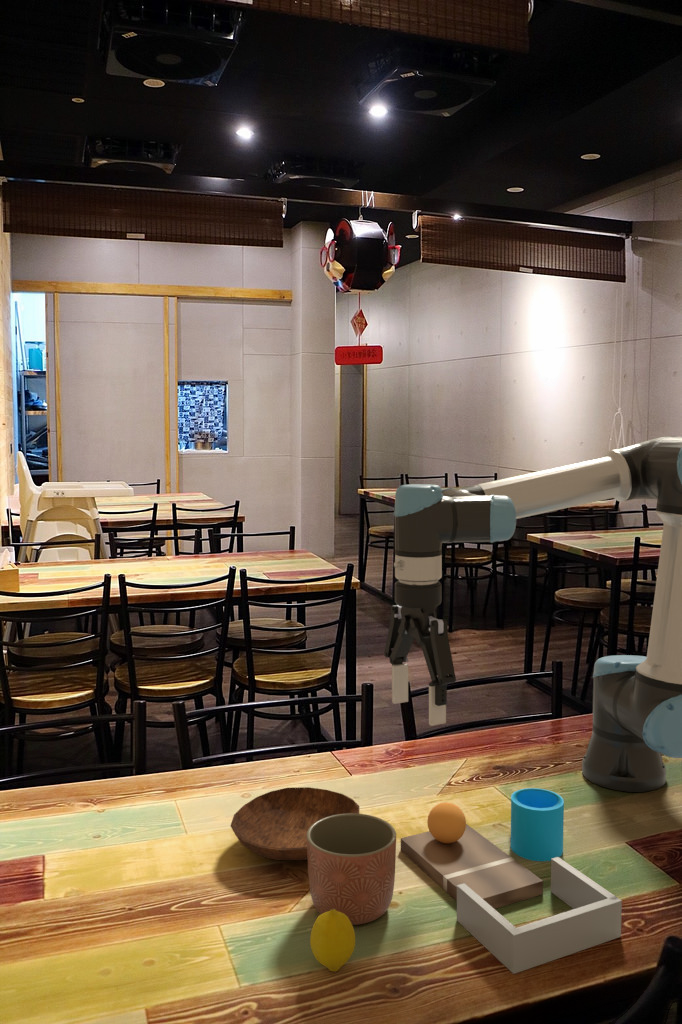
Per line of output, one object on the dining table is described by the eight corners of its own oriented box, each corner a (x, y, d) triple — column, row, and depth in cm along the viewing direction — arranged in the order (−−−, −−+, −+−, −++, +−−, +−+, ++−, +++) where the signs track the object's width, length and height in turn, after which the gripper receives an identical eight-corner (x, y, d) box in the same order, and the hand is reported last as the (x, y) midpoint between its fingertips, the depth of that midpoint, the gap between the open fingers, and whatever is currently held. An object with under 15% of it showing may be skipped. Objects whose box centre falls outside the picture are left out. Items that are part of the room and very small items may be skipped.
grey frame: (557, 889, 123) (558, 856, 122) (620, 936, 111) (621, 900, 111) (456, 920, 115) (456, 885, 115) (513, 973, 104) (514, 935, 103)
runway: (464, 834, 139) (464, 822, 139) (542, 894, 121) (543, 880, 121) (400, 850, 134) (400, 838, 134) (472, 915, 116) (472, 901, 116)
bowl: (379, 827, 142) (379, 798, 142) (321, 893, 122) (321, 859, 122) (276, 806, 150) (276, 778, 150) (206, 864, 131) (205, 833, 130)
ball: (452, 828, 137) (452, 793, 136) (473, 845, 132) (473, 808, 131) (420, 836, 134) (420, 800, 134) (440, 853, 129) (440, 816, 128)
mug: (573, 857, 132) (574, 806, 131) (525, 864, 130) (526, 813, 129) (535, 822, 143) (536, 776, 142) (491, 829, 141) (491, 781, 140)
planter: (408, 895, 121) (408, 822, 120) (376, 943, 110) (376, 863, 109) (330, 877, 127) (329, 806, 125) (291, 921, 115) (290, 844, 114)
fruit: (340, 950, 109) (339, 890, 108) (364, 973, 104) (363, 911, 103) (302, 965, 106) (301, 904, 105) (325, 989, 101) (325, 926, 100)
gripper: (363, 571, 146) (364, 695, 148) (437, 595, 125) (437, 739, 127) (401, 567, 149) (402, 689, 151) (479, 590, 128) (478, 731, 130)
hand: (418, 712), depth 139 cm, fingers open, 11 cm apart
